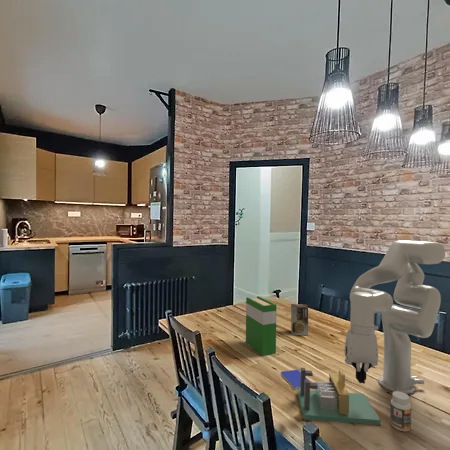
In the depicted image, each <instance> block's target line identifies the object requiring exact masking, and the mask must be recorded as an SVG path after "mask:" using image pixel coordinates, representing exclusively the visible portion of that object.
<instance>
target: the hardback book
mask: <svg viewBox="0 0 450 450" xmlns="http://www.w3.org/2000/svg"><path fill="white" fill-rule="evenodd" d="M245 306H246V307H245V344H247V345H248V344H249V345H248V346H250V348H252V349H253V350H254V349H255V350H254V351H255V352H257V353H258V354H259V355H261V356H262V357H264V356H265V357H266V356H270V355H274V354H275V355H276V353H277V304H276V303H274V302H272V301H271V300H270V301H269V299H266V298H263V297H262V296H259V295H258V296H256V297H254V298H253V297H252V298H250V297H248V296H246V300H245Z"/></svg>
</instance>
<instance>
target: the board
mask: <svg viewBox="0 0 450 450" xmlns="http://www.w3.org/2000/svg"><path fill="white" fill-rule="evenodd" d="M300 372H301V376H300V389H296V391H297V392H296V393H297V397H298V400H299V405H300V408H301V413H302V416H303V420H307V421H320V422H321V421H322V422H323V421H324V422H334V423H335V422H337V423H348V424H349V423H352V424H366V425H379V426H381V424H382V423H381V422H382V420H381V418H380V417H379V415H378V414H377V412H376V410H375V409H374V407H373V406H372V404H371V403H370V401H369V399H368V398H367V397H366V395H365V393H362V392H361V393H360V392H358V393H357V392H348V393H349V415H347V414H339V412H337V411H322V410H321V409H320V407H319V404H318V401H317V398H316V395H315V389H318V386H317V383H315V382H312V381H310V379H308V380H306V378H307V377H314V374H313V373H314V372H313V370H309V369H308V370H307V369H306V368H305V367H300ZM312 389H313V390H312Z"/></svg>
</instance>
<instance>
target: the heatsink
mask: <svg viewBox="0 0 450 450" xmlns="http://www.w3.org/2000/svg"><path fill="white" fill-rule="evenodd" d="M314 383H317V386H318V389H314V391H315V395H316V398H317V401H318V404H319V407H320V409H321V410H322V411H337V412H339V394H338V392H337V390H336V388H335V386H334V384H333V382H329V381H319V380H318V381H314Z"/></svg>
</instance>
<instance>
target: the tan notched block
mask: <svg viewBox="0 0 450 450" xmlns="http://www.w3.org/2000/svg"><path fill="white" fill-rule="evenodd" d="M328 375H329V376H328V382H333V384H334V386H335V388H336V390H337V392H338V394H339V414H347V415H349V393H350V392H349V391H348V390H347V388H346V374H345V373H344V371H343V369H341V368H339V369H338V373H332V372H329V374H328Z"/></svg>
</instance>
